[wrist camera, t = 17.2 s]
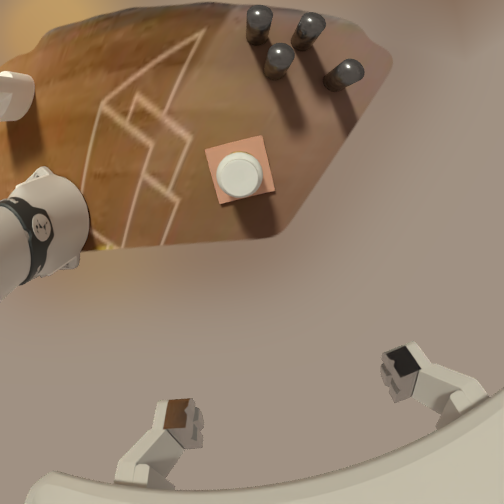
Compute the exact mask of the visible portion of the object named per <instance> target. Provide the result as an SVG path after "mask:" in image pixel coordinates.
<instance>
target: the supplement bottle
mask: <svg viewBox="0 0 504 504" xmlns="http://www.w3.org/2000/svg"><path fill="white" fill-rule="evenodd" d="M216 179H217V182H218V185H219V187H220V188H221V189H222V191H223V192H225V193H226V194H227V195H229V196H232V197H236V198H243V197H247V196H250V195H252V194H253V193H255V192H256V191H257V190H258V188H259V187H260V185H261V183H262V179H263V171H262V167H261V165H260V163H259V162H258V160H257V159H256V158H255V157H254V156H253V155H251V154H250V153H247V152H243V151H236V152H232V153H230V154H229V155H227V156H226V157H225V158H224V159H223V160H222V161H221V162H220V164H219V165H218V168H217V172H216Z"/></svg>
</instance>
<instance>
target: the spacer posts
mask: <svg viewBox="0 0 504 504" xmlns="http://www.w3.org/2000/svg"><path fill="white" fill-rule="evenodd" d="M272 17H273V13H272V11H271V9H270V8H268V7H266V6H263V5H255V6H253V7H251V8H250V9H249V10H248V11H247V26H246V39H247V41H248V42H249V43H250V44H252V45H262V44H264V43H265V42H266V41H267V38H268V34H269V30H270V26H271V21H272ZM325 27H326V22H325V19H324V18H323V17H322V16H321V15H319V14H317V13H313V12H309V13H306V14H304V15H303V16H302V18H301V20H300V22H299V24H298V26H297V28H296V30H295V32H294V34H293V36H292V38H291V44H292V46H293V47H294V48H295V49H296V50H299V51H306V50H308V49H309V48H310V47H311V46H312V44H313V43H314V42H315V40H316V39H317V38H318V36H319V35H320V34H321V32H322V31H323V30H324V28H325ZM294 57H295V53H294V50H293V49H292V48H291V47H290V46H289V45H287V44H284V43H276V44H274V45H272V46H271V47H270V48H269V51H268V54H267V58H266V62H265V65H264V70H263V71H264V74H265V76H266V77H267V78H268V79H270V80H279V79H281V78H282V77H283V76H284V74H285V73H286V71H287V69H288V68H289V66H290V65H291V63H292V61H293V60H294ZM363 76H364V68H363V66H362V65H361V64H360V63H359V62H358V61H357V60H354V59H346V60H344V61H343V62H342V63H340V64H339V65H338V66H337V67H335V68H334V69H333V70H331V71H330V72H329V73H328V74H326V75H325V76H324V79H323V83H324V86H325V87H326V88H327V89H328V90H330V91H332V92H337V91H339V90H341V89H343V88H345V87H347V86H349V85H351V84H353V83H355V82H357V81H359V80H361V79H362V78H363Z"/></svg>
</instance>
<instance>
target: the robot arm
mask: <svg viewBox="0 0 504 504" xmlns="http://www.w3.org/2000/svg"><path fill="white" fill-rule="evenodd" d="M38 176H39V177H38ZM88 232H89V214H88V209H87V206H86V203H85V200H84V198H83V196H82V194H81V193H80V191H79V190H78V188H77V187H76V186H75V185H74V184H73V183H72V182H70V181H69V180H67V179H66V178H63V177H60V176H57V175H55V174H53V173H52V172H51V171H50V170H49V169H48V168H47V167H46V166H42V167H40V168H38V169H37V170H36V171H35V172H34V173H33V174H32V175H31V176H30V177H29V178H28V179H27V180H26V181H25V182H23V183H21V184H19V185H17V186H16V189H15V190H14V191H13V192H12V193H11V194H10V196H9V197H8V198H7V199H3V200H1V201H0V302H1V301H2V300H3V299H4V298H5V297H6V296H7V295H8V294H9V293H10V292H11V291H13V290H14V289H15V288H16V287H17V286H18V285H23V284H25V283H26V282H29V281H30V280H32V279H34V278H37V277H38V276H39V275H40V277H41V278H42V277H45V276H50V275H52V274H53V273H55V272H56V271H57V270H61V269H74V268H76V267H77V266H78V265H79V260H80V252H81V249H82V247H83V246H84V244H85V242H86V239H87V236H88ZM382 361H383V364H382V365H381V377H382V379H383V382H384V384H385V385H386V386H388V387H390V390H389V394H390V395H391V397H392V399H393V401H394V403H397V402H399V401H402V400H404V399H407V398H409V397H412V398H414V399H415V400H417V401H419V402H420V403H422V404H424V405H425V406H427V407H429V408H430V409H432V410H434V411H436V412H437V413H439V414H441V416H440V419H439V420H438V422H437V424H436V428H437V430H436V431H434V432H432V433H430V434H428V435H427V436H424V437H422V438H420V439H418V440H416V441H414V442H412V443H410V444H407V445H405V446H403V447H400V448H398V449H396V450H393V451H391V452H388V453H386V454H383V455H381V456H378V457H376V458H373V459H370V460H367V461H364V462H361V463H358V464H355V465H352V466H349V467H346V468H343V469H339V470H336V471H332V472H328V473H324V474H320V475H316V476H312V477H308V478H303V479H298V480H293V481H288V482H282V483H276V484H270V485H263V486H255V487H247V488H235V489H220V490H175V486H174V485H173V484H172V483H171V482H169V481H168V480H166V479H165V478H166V477H167V475H168V474H169V472H170V471H171V469H172V468H173V467H174V465H175V464H176V462H177V461H178V459H179V458H180V456H181V455H182V454H183V452H184V451H185V450H184V449H195V448H202V447H203V435H202V434H201V432H200V431H201V430H202V429H203V427H204V420H203V415H202V413H201V411H200V409H199V408H197V407H195V402H194V400H193V399H192V398H189V399H175V400H160V401H159V402H158V403H157V407H156V412H155V416H154V421H153V426H152V430H148V431H147V432H146V433H145V435H144V436H143V437H142V438H141V439H140V440H139V441H138V442H137V443H136V444H135V445H134V446H133V447H132V448H131V449H130V450H129V451H128V452H127V454H125V455H124V456H123V457H122V458H121V459H120V461H119V462H118V466H117V470H116V475H115V479H114V484H111V483H105V482H100V481H95V480H90V479H86V478H81V477H77V476H73V475H69V474H66V473H62V472H59V471H52V472H50V473H48V474H47V475H45V476H44V477H43V478H41V479H40V480H39V481H37V482H36V483H35V484H34V485H33V486H32V487H31V489H30V491H29V493H28V495H27V498H26V501H25V503H24V504H504V387H503V388H502V389H501V390H499V391H498V392H497V393H495V394H494V395H493V396H492V397H489V396H488V394H487V393H486V392H485V390H484V389H483V387H482V386H481V385H480V383H479V382H478V381H477V380H476V379H475V378H472V377H469V376H467V375H464V374H462V373H459V372H456V371H454V370H451V369H449V368H446V367H443V366H441V365H438V364H436V363H434V364H432V363H431V362H430V361H429V359H428V358H427V357H426V355H425V354H424V353H423V351H422V350H421V349H420V347H419V346H418V345H417V343H416V342H414V341H412V342H410V343H407V344H405V345H402V346H399V347H397V348H394V349H392V350H389V351H387V352H384V353H383V354H382Z"/></svg>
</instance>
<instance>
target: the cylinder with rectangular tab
mask: <svg viewBox="0 0 504 504" xmlns="http://www.w3.org/2000/svg"><path fill="white" fill-rule="evenodd" d="M34 91H35V86H34V81H33V79H32V77H31V76H29V75H26V74H21V73H15V72H9V71H4V72H1V73H0V121H17V120H19V119H21V118H22V117H23V116H24V115H25V114H26V113H27V111H28V109H29V108H30V106H31V103H32V101H33V97H34Z"/></svg>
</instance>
